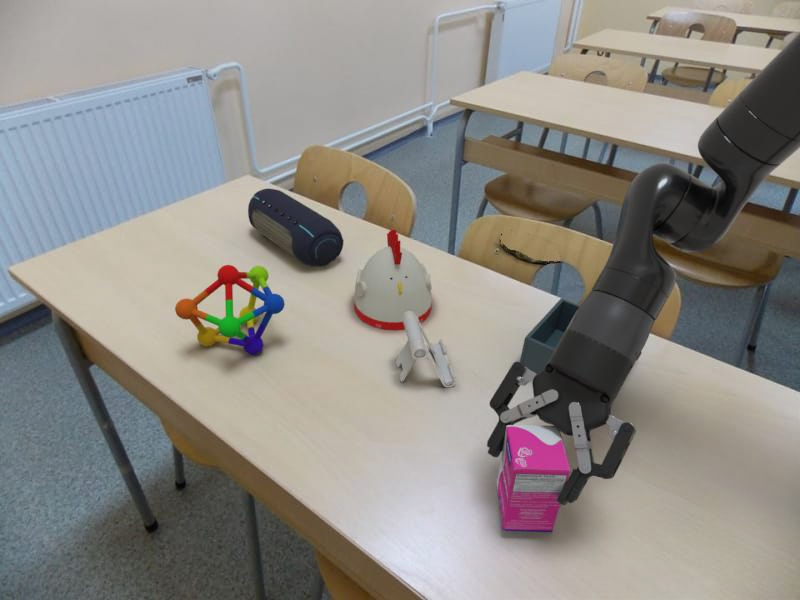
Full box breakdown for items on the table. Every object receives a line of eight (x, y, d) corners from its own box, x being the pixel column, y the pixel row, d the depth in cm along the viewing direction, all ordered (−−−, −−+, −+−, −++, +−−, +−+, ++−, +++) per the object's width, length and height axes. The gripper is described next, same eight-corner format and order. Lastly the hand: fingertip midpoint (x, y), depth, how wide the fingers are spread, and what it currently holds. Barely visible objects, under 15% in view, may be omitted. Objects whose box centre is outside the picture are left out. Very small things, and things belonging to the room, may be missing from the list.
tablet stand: (454, 387, 77) (460, 344, 72) (403, 392, 76) (404, 349, 71) (441, 349, 84) (445, 307, 79) (394, 353, 83) (394, 312, 78)
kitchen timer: (360, 334, 87) (358, 257, 78) (349, 288, 98) (346, 216, 89) (440, 324, 89) (446, 249, 80) (421, 281, 100) (425, 210, 91)
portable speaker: (244, 232, 114) (236, 190, 108) (283, 219, 120) (278, 178, 114) (308, 280, 99) (304, 234, 93) (350, 263, 105) (348, 218, 99)
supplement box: (493, 486, 62) (506, 422, 55) (543, 488, 62) (561, 424, 55) (499, 532, 57) (513, 468, 51) (553, 534, 57) (574, 470, 50)
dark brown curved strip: (569, 259, 110) (510, 234, 118) (576, 239, 107) (514, 215, 115) (548, 272, 103) (487, 245, 111) (555, 251, 101) (491, 224, 109)
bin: (630, 361, 83) (642, 329, 79) (600, 410, 74) (612, 377, 70) (553, 328, 89) (561, 297, 85) (518, 369, 81) (524, 337, 77)
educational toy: (246, 387, 78) (220, 313, 68) (188, 356, 83) (156, 283, 73) (312, 326, 87) (297, 253, 78) (256, 301, 93) (236, 230, 83)
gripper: (532, 306, 55) (458, 439, 55) (667, 370, 48) (581, 525, 47) (549, 323, 62) (482, 442, 62) (670, 382, 54) (594, 518, 54)
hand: (525, 478), depth 55 cm, fingers closed on supplement box, 8 cm apart
